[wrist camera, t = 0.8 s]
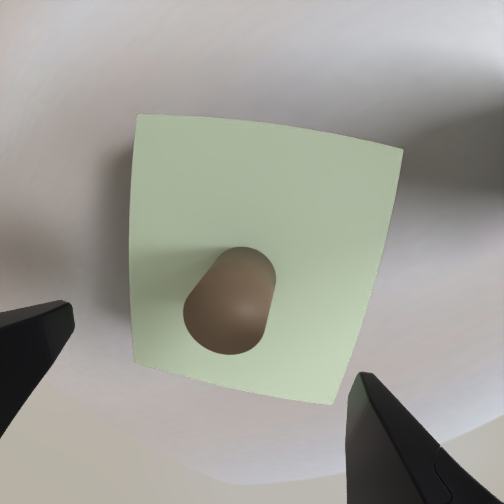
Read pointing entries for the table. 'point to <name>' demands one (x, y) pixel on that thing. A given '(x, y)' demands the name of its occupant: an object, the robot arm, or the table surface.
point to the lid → (254, 250)
